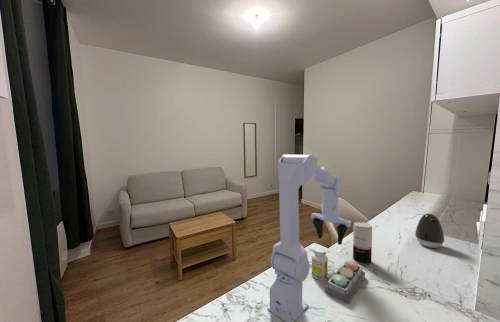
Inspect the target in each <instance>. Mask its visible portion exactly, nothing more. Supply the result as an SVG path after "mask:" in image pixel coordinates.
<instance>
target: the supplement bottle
mask: <svg viewBox="0 0 500 322" xmlns="http://www.w3.org/2000/svg"><path fill="white" fill-rule="evenodd" d="M326 254H327V250H326V249H325V248H324V247H321V246H317V247H316V246H315V247H314V248H313V253H312V254H311V276H312V277H313V278H314V279H315V280H319V281H325V280H326V279H327V278H328V263H329V261H328V256H327V255H326Z"/></svg>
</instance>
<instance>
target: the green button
mask: <svg viewBox="0 0 500 322" xmlns="http://www.w3.org/2000/svg"><path fill="white" fill-rule="evenodd" d="M334 274H335V273H334ZM334 274H333V275H334ZM333 275H332V276H333ZM333 283H334V284H335V285H337V286H340V287H346V286H347V278H346V277H345V276H343V275H340V274H335V275H334V276H333Z"/></svg>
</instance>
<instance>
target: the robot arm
mask: <svg viewBox="0 0 500 322" xmlns="http://www.w3.org/2000/svg"><path fill="white" fill-rule="evenodd" d="M277 175H278V177H277V180H278V189H279V190H278V192H279V193H278V196H279V200H278V201H279V228H280V229H279V234H280V236H279V237H280V241H278V242H277V243H275V244H274V245H273V246H272V253H271V256H270V266H271V268H272V269H273V270H274V274H275V275H276V278H275V281H274V282H273V283H272V284H271V286H270V288H269V305H268V306H267V310H268V311H270V312H271V313H273V315H276V316H277V317H278V318H280V319H282V320H283V321H284V322H295V321H296V320H297V319H298V318H299V316H300V315H302V313H303V312H304V311H305V310H306V309H307V307H308V306H309V302H307V301H305V300H303V282H304V281H306V279H307V278H308V275H309V273H310V269H311V266H310V262H309V259H308V251H307V250H306V249H305V247H304V246H303V245H302V244H301V242H300V207H299V206H300V204H299V202H300V201H299V198H300V197H299V195H300V194H299V189H300V187H301V186H304V185H306V184H307V183H308V182H309V181H310V180H311V179H312V178H313V180H314V181H315V182H316V183H318V184H319V187H320V189H322V196H321V198H322V202H321V204H322V205H321V206H322V207H321V209H322V210H321V211H322V212H321V213H317V212H312V213H311V218H310V219H312V224H313V225H314V227H315V230H316V234H317V237H318V239H322V238H323V235H324V234H323V233H324V232H323V226H324V222H327V223H332V224H336V225H338V226H336V231H337V244H338V245H339V246H340V245H342V244H343V239H344V236H345V234H346V232H347V230H348V228H351V226H352V221H351V220H348V219H345V218H342V217H339V196H340V194H341V187H342V178H341V176H339V175H337V174H336V175H335V174H333V173H332V172H331V171H330V170H329V169H328V167H327V166H320V165H319V164H318V158H317V157H316V155H315V154H312V153H309V154H287V153H284V154H282V156H281V157H279V160H278V161H277Z"/></svg>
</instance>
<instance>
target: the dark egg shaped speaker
mask: <svg viewBox="0 0 500 322" xmlns="http://www.w3.org/2000/svg"><path fill="white" fill-rule="evenodd" d="M444 234H445V233H444V229H443V225H442V223H441V222H440V220H439V218H438V217H437V216H436V215H435V214H432V213H424V214H423V215H422V216H421V217H420V218H419V221H418V223H417V226H416V228H415V234H414V235H415V238H416V240H417V242H418V243H419V244H420V245H421V246H423V247H426V248H429V249H437V248H441V247H442V245H444V242H445V235H444Z"/></svg>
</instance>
